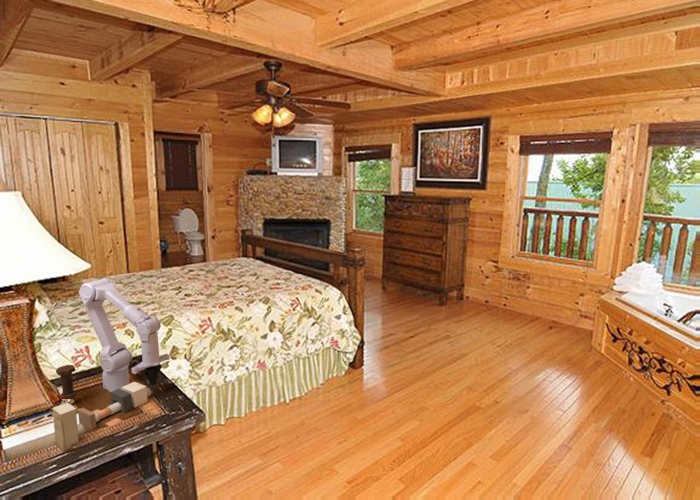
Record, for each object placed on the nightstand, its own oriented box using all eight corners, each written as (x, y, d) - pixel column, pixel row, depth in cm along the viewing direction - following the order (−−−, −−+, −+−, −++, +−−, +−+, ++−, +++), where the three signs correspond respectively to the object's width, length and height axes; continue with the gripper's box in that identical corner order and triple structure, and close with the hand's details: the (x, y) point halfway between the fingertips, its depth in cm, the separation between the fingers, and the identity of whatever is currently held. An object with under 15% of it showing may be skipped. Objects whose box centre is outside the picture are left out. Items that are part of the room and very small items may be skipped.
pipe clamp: (65, 425, 137) (63, 409, 136) (137, 391, 159) (136, 376, 158) (93, 440, 129) (92, 422, 128) (165, 402, 152) (164, 387, 151)
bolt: (68, 412, 144) (64, 372, 142) (56, 410, 145) (52, 370, 143) (82, 403, 150) (78, 365, 148) (70, 401, 151) (66, 363, 149)
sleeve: (122, 402, 149) (121, 387, 148) (135, 396, 153) (134, 381, 152) (134, 407, 146) (133, 392, 145) (147, 401, 150) (146, 386, 149)
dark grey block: (111, 407, 146) (110, 392, 145) (120, 403, 148) (118, 388, 147) (124, 413, 142) (122, 397, 141) (132, 409, 145) (130, 393, 144)
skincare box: (55, 444, 127) (51, 407, 125) (71, 436, 131) (67, 401, 129) (64, 451, 123) (59, 414, 121) (80, 444, 127) (76, 408, 125)
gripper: (139, 359, 145) (142, 395, 147) (174, 345, 158) (176, 378, 160) (126, 355, 148) (129, 390, 151) (161, 342, 161) (164, 374, 163)
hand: (152, 384), depth 155 cm, fingers closed
